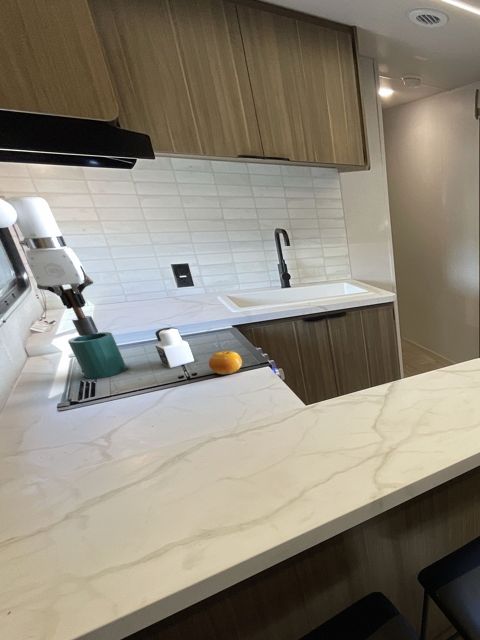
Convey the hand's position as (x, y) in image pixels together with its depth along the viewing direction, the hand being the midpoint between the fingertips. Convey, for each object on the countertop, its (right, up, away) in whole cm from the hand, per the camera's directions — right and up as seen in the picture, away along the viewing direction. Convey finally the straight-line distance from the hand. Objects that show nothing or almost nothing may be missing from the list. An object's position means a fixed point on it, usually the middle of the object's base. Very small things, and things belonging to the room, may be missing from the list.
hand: (76, 306), depth 122 cm
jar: (0, -20, +9) cm, 22 cm away
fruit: (+41, -20, +7) cm, 47 cm away
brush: (0, -8, +4) cm, 9 cm away
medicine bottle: (+19, -17, +16) cm, 30 cm away
